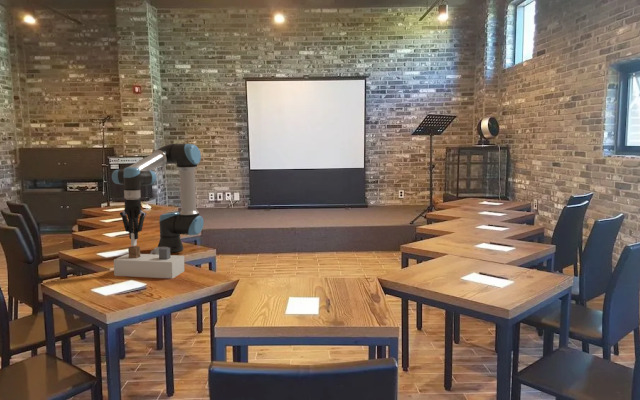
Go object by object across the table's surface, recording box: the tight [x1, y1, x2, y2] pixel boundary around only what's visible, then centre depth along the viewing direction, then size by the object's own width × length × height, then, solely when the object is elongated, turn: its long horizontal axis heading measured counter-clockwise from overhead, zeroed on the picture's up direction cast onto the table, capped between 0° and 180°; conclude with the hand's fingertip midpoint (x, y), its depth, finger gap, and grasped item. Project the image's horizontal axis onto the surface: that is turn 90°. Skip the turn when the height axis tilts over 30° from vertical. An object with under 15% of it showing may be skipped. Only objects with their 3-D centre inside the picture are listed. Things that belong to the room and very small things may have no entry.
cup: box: [149, 246, 168, 255], centre depth 256 cm, size 7×10×9 cm
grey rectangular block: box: [113, 253, 185, 279], centre depth 237 cm, size 14×30×8 cm, turn 82°
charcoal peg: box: [159, 248, 171, 260], centre depth 236 cm, size 4×4×7 cm
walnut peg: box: [128, 245, 141, 258], centre depth 238 cm, size 4×4×7 cm
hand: (134, 245), depth 237 cm, fingers closed
